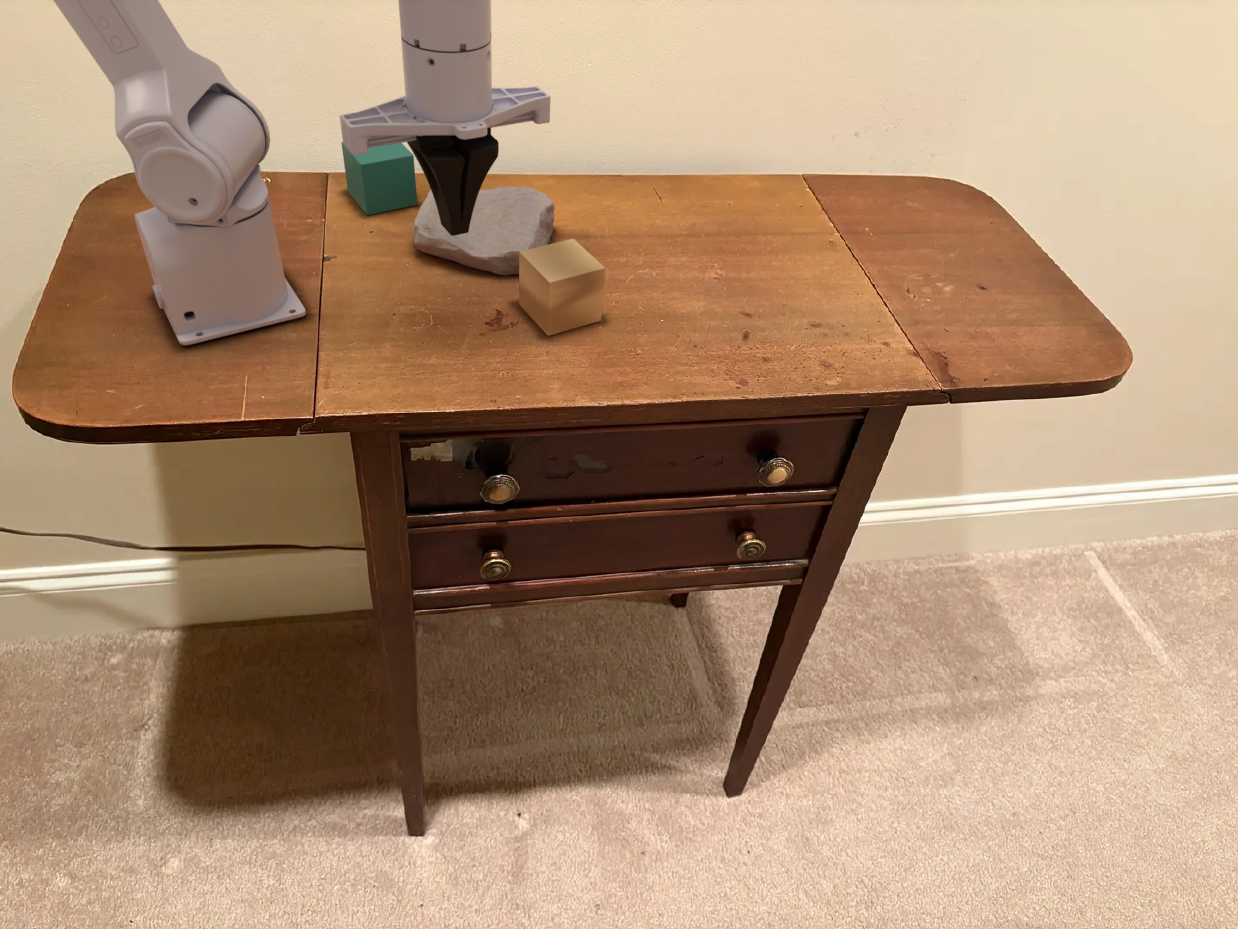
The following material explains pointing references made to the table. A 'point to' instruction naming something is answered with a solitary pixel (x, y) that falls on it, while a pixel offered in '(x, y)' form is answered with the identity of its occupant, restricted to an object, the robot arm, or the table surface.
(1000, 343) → the table surface
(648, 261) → the table surface
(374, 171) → the teal block
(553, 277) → the maple block
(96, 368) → the table surface
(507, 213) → the stone block
